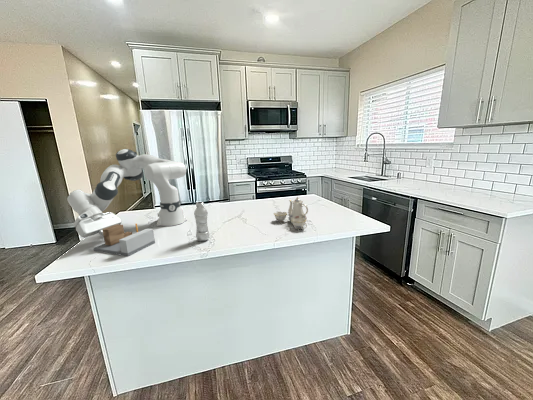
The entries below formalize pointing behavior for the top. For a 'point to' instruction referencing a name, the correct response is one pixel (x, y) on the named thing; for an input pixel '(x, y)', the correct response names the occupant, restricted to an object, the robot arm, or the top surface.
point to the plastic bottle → (201, 222)
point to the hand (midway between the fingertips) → (110, 236)
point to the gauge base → (117, 249)
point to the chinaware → (294, 214)
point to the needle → (136, 228)
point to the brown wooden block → (114, 234)
